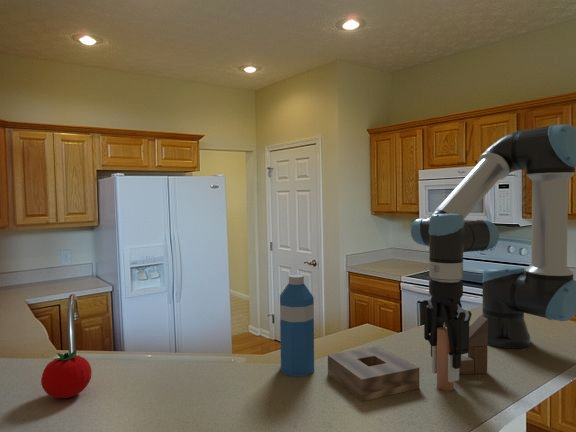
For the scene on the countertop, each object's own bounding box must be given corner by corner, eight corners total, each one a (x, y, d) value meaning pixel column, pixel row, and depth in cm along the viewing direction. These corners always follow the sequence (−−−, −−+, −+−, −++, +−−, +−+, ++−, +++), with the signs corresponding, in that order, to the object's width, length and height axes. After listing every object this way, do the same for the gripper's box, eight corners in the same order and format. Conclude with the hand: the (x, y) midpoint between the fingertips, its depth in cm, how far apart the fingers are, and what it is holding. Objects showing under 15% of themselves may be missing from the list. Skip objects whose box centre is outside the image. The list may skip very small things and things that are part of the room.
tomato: (58, 385, 103) (57, 345, 103) (100, 385, 103) (99, 345, 102) (31, 406, 93) (29, 362, 92) (77, 407, 92) (76, 362, 92)
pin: (445, 382, 103) (445, 326, 102) (457, 389, 99) (457, 330, 98) (433, 385, 101) (433, 328, 100) (444, 392, 98) (445, 332, 97)
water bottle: (318, 364, 114) (318, 273, 113) (309, 378, 106) (308, 280, 104) (286, 360, 117) (285, 272, 116) (274, 374, 109) (273, 278, 108)
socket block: (379, 363, 114) (379, 345, 114) (419, 388, 100) (419, 367, 99) (327, 373, 108) (327, 354, 108) (361, 401, 93) (361, 379, 93)
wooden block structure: (487, 373, 108) (488, 304, 107) (447, 375, 107) (447, 305, 106) (480, 367, 111) (480, 300, 110) (441, 369, 110) (441, 301, 110)
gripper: (408, 274, 106) (408, 365, 107) (462, 287, 89) (461, 395, 90) (432, 271, 108) (431, 360, 110) (488, 284, 92) (487, 388, 93)
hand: (445, 376), depth 100 cm, fingers open, 4 cm apart
